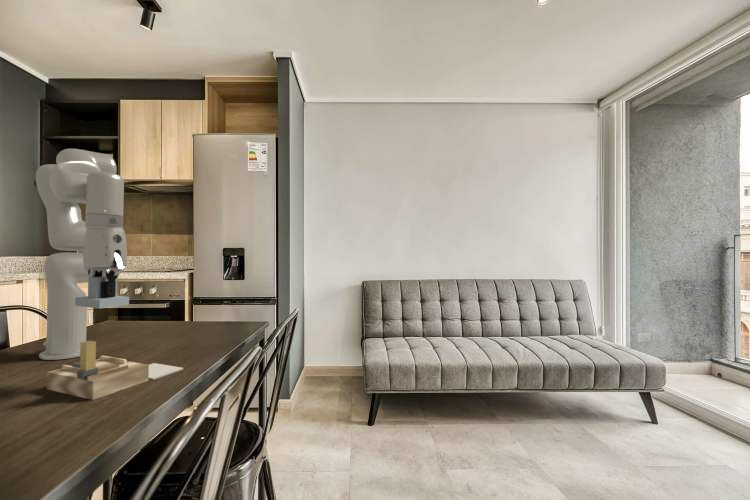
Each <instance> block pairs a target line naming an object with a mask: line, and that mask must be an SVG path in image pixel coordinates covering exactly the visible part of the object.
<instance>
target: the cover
mask: <svg viewBox="0 0 750 500" xmlns="http://www.w3.org/2000/svg"><path fill="white" fill-rule="evenodd" d="M118 277H119V276H118ZM118 277H117V278H118ZM101 282H104V281H103V277H88V282H87V283H88V285H87V295H86V296H87V297H77V298H75V306H81V307H87V308H91V309H92V308H93V309H106V308H113V307H121V306H129V305H130V296H124V295H118V282H119V281H118V279H117V281H116V293H115V297H110V298H101Z"/></svg>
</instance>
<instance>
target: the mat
mask: <svg viewBox="0 0 750 500" xmlns="http://www.w3.org/2000/svg"><path fill="white" fill-rule="evenodd" d="M148 365H149V376H148V380H153V381H154V380H157V379H160V378H162V377H165V376H168V375H171V374H174V373H177V372H180V371H182V370H184V367H180V366H175V365H168V364H161V363H156V362H153V363H151V364H150V363H149V364H148Z"/></svg>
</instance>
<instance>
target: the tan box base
mask: <svg viewBox="0 0 750 500" xmlns="http://www.w3.org/2000/svg"><path fill="white" fill-rule="evenodd" d="M149 365H150V364H147V363H140V362H134V361H128V360H127V359H126V358H119V357H115V356H114V357H113V356H108V355H99V358H97V359H96V367H97V368H98V373H97V374H94V375H91V376H87V379H84V380H82V379H77V370H80V368H76V367H72V365H68V364H62V365H61V368H58V369H55V370H50V371H47V372H46V390H48V391H53V392H57V393H61V394H66V395H70V396H74V397H78V398H83V399H87V400H97V399H101V398H103V397H106V396H108V395H111V394H114V393H117V392H119V391H120V392H121V391H122V390H126V389H128V388H129V389H130V388H131V387H134V386H138V385H140V384H143V383H146V382H148V381H149V379H148V376H149Z"/></svg>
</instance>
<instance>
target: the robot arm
mask: <svg viewBox="0 0 750 500" xmlns="http://www.w3.org/2000/svg"><path fill="white" fill-rule="evenodd" d="M55 162H56V163H55V164H53V163H52V164H51V163H49V164H42V165H40V166H39V167H38V168H37V169H36V173H35V182H36V189H37V192H38V194H39V196H40V198H41V201H42V202H43V204H44V207H45V209H46V220H47V221H46V222H47V234H48V235H47V236H48V241H49V244H50V246H51V247H52V249H54V250H58V251H68V252H57V253H53V254H50V255H49V256H47V257H46V258H45V261H44V262H43V263H44V264H43V270H44V276H45V283H46V292H47V293H46V295H47V298H46V300H47V301H46V333H45V334H46V340H45V341H44V342H43V343H42V345H43V346H44V347H45V350H44V351H41V352H40V353H39V354H38V358H39V359H41V360H43V361H44V360H45V361H55V360H57V361H58V360H66V359H67V360H68V359H73V358H74V359H75V358H78V357H79V358H80V343H81V342H86V341H87V328H88V327H87V324H88V323H87V321H88V319H87V318H88V316H87V315H88V307H81V306H75V298H77V297H87V296H88V295H87V294H86V292H85V291H84V290H83V289H82V288H80V287H79V286H78V284H84V283H88V277H103V281H104V282H101V298H110V297H115V293H116V281H117V279H118V278H117V277H119V276H120V274H121V273H124V271H125V268H126V267H127V265H128V246H127V236H126V231H125V229H124V205H125V204H124V199H125V197H124V195H125V186H124V185H125V180H124V178H123V177H122V176H121V175H120V174H117V170H118V168H117V164H116V161H115V159H114V158H113V157H112V156H111V155H108V154H106V153H101V152H96V151H91V150H90V151H89V150H86V149H79V148H65V149H63V150H61V151H59V152H58V154H57V155H56V158H55ZM78 204H85V221H84V220H83V219H82V210H81V208H80V206H79V205H78ZM71 251H72V252H71Z"/></svg>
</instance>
